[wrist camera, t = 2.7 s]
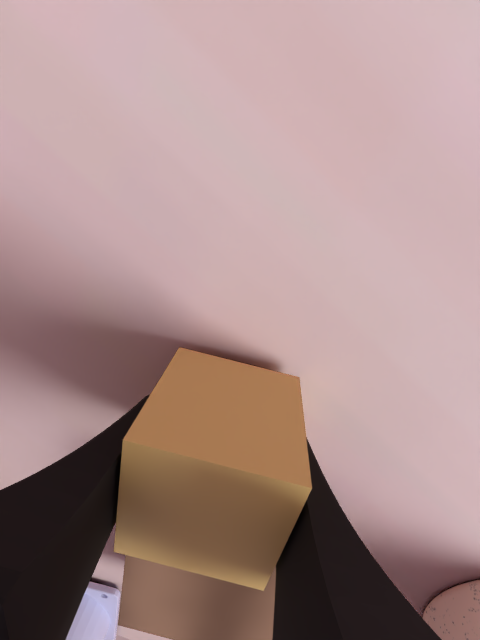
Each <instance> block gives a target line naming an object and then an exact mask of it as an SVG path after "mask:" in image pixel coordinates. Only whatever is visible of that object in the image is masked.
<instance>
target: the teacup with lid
mask: <svg viewBox="0 0 480 640" xmlns="http://www.w3.org/2000/svg"><path fill="white" fill-rule="evenodd" d="M422 619H423V620H424V621H425V622H426V623H427V624H428V625H429V626H430V627H431V628H432V629H433V631H434V632H435V633H436V634H437V635H438V636H439V637H440V638H441V639H442V640H480V580H476V581H471V582H467V583H463V584H460V585H457V586H455V587H452V588H450V589H448V590H446V591H444V592H442V593H441V594H439V595H438V596H436V597H435V598H434V599H433V600H432V601H431V602H430V603H429V604H428V606H427V607H426V609H425V611H424V614H423V618H422Z"/></svg>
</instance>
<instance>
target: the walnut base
mask: <svg viewBox="0 0 480 640" xmlns="http://www.w3.org/2000/svg"><path fill="white" fill-rule="evenodd" d="M275 582H276V566H275V568H274V570H273V572H272V574H271V576H270V578H269V580H268V583H267V585H266V587H265V589H264V591H262V590H258V589H254V588H251V587H247V586H243V585H239V584H235V583H231V582H228V581H224V580H220V579H216V578H212V577H208V576H205V575H201V574H197V573H193V572H189V571H185V570H182V569H178V568H174V567H170V566H166V565H162V564H159V563H155V562H151V561H147V560H143V559H139V558H136V557H132V556H128V555H126V556H125V565H124V575H123V584H122V593H121V602H120V612H119V621H118V625H120V626H124V627H127V628H131V629H135V630H139V631H143V632H146V633H150V634H154V635H158V636H161V637H165V638H169V639H173V640H272V638H273V621H274V603H275Z"/></svg>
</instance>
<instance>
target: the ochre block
mask: <svg viewBox="0 0 480 640" xmlns="http://www.w3.org/2000/svg"><path fill="white" fill-rule="evenodd" d="M311 490H312V483H311V475H310V466H309V457H308V449H307V440H306V431H305V423H304V414H303V405H302V397H301V388H300V380H299V377H296V376H292V375H288V374H284V373H280V372H276V371H272V370H268V369H264V368H260V367H256V366H252V365H248V364H244V363H240V362H236V361H232V360H228V359H224V358H220V357H216V356H212V355H209V354H205V353H201V352H197V351H193V350H189V349H185V348H181V347H179V349H178V350H177V352H176V353H175V355H174V357H173V358H172V360H171V362H170V363H169V365H168V367H167V368H166V370H165V372H164V373H163V375H162V376H161V378H160V380H159V381H158V383H157V385H156V386H155V388H154V390H153V391H152V393H151V394H150V396H149V398H148V399H147V401H146V403H145V404H144V406H143V408H142V409H141V411H140V412H139V414H138V416H137V417H136V419H135V421H134V422H133V424H132V426H131V427H130V429H129V431H128V432H127V434H126V435H125V437H124V439H123V443H122V456H121V468H120V481H119V493H118V505H117V518H116V530H115V542H114V552H116V553H120V554H124V555H128V556H132V557H136V558H139V559H143V560H147V561H151V562H155V563H159V564H162V565H166V566H170V567H174V568H178V569H182V570H185V571H189V572H193V573H197V574H201V575H205V576H208V577H212V578H216V579H220V580H224V581H228V582H231V583H235V584H239V585H243V586H247V587H251V588H254V589H258V590H262V591H264V589H265V587H266V585H267V583H268V580H269V578H270V576H271V574H272V572H273V570H274V568H275V566H276V564H277V561H278V559H279V557H280V555H281V553H282V551H283V549H284V547H285V545H286V542H287V540H288V538H289V536H290V534H291V532H292V530H293V528H294V525H295V523H296V521H297V519H298V517H299V515H300V513H301V511H302V509H303V506H304V504H305V502H306V500H307V498H308V496H309V494H310V492H311Z"/></svg>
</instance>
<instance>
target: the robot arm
mask: <svg viewBox="0 0 480 640" xmlns="http://www.w3.org/2000/svg"><path fill="white" fill-rule="evenodd" d="M149 396H150V395H148V396H146V397H145V398H143V399H142V400H141V401H140V402H139V403H138V404H137V405H136V406H134V407H133V408H132V409H131V410H130V411H128V412H127V413H126V414H125V415H124V416H122V417H121V418H120V419H119V420H117V421H116V422H115V423H113V424H112V425H111V426H110V427H108V428H107V429H106V430H104V431H103V432H101V433H100V434H99V435H97V436H96V437H94V438H93V439H92V440H90V441H89V442H87V443H86V444H84V445H83V446H81V447H80V448H78V449H77V450H75V451H73V452H72V453H70V454H69V455H67V456H65V457H64V458H62V459H60V460H59V461H57V462H55V463H53V464H52V465H50V466H48V467H46V468H44V469H42V470H41V471H39V472H37V473H35V474H33V475H31V476H29V477H27V478H25V479H23V480H21V481H19V482H17V483H15V484H13V485H11V486H8V487H6V488H4V489H2V490H0V640H116V631H117V621H118V612H119V602H120V591H119V590H118V589H116V588H113V587H109V586H106V585H102V584H98V583H94V582H91V581H90V579H91V577H92V575H93V572H94V570H95V568H96V565H97V563H98V561H99V558H100V556H101V554H102V551H103V549H104V547H105V545H106V542H107V540H108V538H109V535H110V533H111V531H112V529H113V527H114V525H115V523H116V518H117V505H118V493H119V481H120V468H121V456H122V443H123V439H124V437H125V435H126V434H127V432H128V431H129V429H130V427H131V426H132V424H133V422H134V421H135V419H136V417H137V416H138V414H139V412H140V411H141V409H142V408H143V406H144V404H145V403H146V401H147V399H148V398H149ZM306 440H307V437H306ZM307 449H308V457H309V466H310V475H311V483H312V490H311V492H310V494H309V496H308V498H307V500H306V502H305V504H304V506H303V509H302V511H301V513H300V515H299V517H298V519H297V521H296V523H295V525H294V528H293V530H292V532H291V534H290V536H289V538H288V540H287V542H286V545H285V547H284V549H283V551H282V553H281V555H280V557H279V559H278V561H277V564H276V582H275V603H274V621H273V638H272V640H442V639H441V638H440V637H439V636H438V635H437V634H436V633H435V632H434V631H433V629H432V628H431V627H430V626H429V625H428V624H427V623H426V622H425V621H424V620H423V619H422V617H421V616H420V615H419V614H418V613H417V612H416V611H415V609H414V608H413V607H412V606H411V605H410V603H409V602H408V601H407V600H406V599H405V597H404V596H403V595H402V594H401V593H400V591H399V590H398V589H397V588H396V586H395V585H394V584H393V583H392V581H391V580H390V579H389V578H388V576H387V575H386V574H385V572H384V571H383V570H382V568H381V567H380V566H379V564H378V563H377V562H376V560H375V559H374V558H373V556H372V555H371V554H370V552H369V551H368V549H367V548H366V546H365V545H364V544H363V542H362V541H361V539H360V538H359V536H358V535H357V533H356V531H355V530H354V528H353V527H352V525H351V524H350V522H349V520H348V519H347V517H346V515H345V514H344V512H343V510H342V509H341V507H340V505H339V503H338V501H337V500H336V498H335V496H334V494H333V492H332V490H331V489H330V487H329V485H328V483H327V481H326V479H325V477H324V475H323V473H322V471H321V469H320V467H319V464H318V462H317V460H316V458H315V456H314V453H313V451H312V449H311V447H310V444H309V442H308V440H307Z"/></svg>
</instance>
